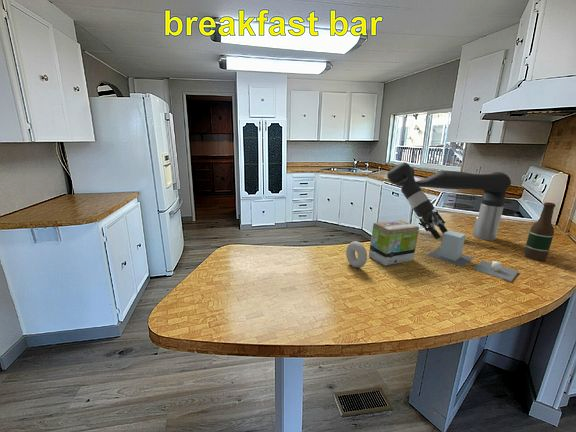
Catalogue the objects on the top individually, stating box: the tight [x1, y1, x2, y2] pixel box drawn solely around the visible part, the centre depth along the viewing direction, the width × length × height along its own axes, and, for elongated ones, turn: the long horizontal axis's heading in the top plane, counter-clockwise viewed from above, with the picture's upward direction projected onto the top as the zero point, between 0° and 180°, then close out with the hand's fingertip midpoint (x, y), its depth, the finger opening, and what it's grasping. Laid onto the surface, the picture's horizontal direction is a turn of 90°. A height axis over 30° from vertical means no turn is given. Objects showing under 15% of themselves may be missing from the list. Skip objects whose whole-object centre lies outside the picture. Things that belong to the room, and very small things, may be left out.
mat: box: [425, 247, 474, 268], centre depth 119 cm, size 14×14×1 cm
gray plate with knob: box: [472, 260, 520, 283], centre depth 107 cm, size 12×12×4 cm
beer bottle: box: [523, 201, 556, 262], centre depth 119 cm, size 8×8×24 cm
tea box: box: [368, 219, 420, 267], centre depth 114 cm, size 15×10×15 cm, turn 115°
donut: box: [345, 240, 368, 269], centre depth 106 cm, size 10×4×10 cm, turn 26°
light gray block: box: [439, 229, 467, 261], centre depth 118 cm, size 6×6×10 cm
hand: (442, 236), depth 119 cm, fingers open, 8 cm apart
